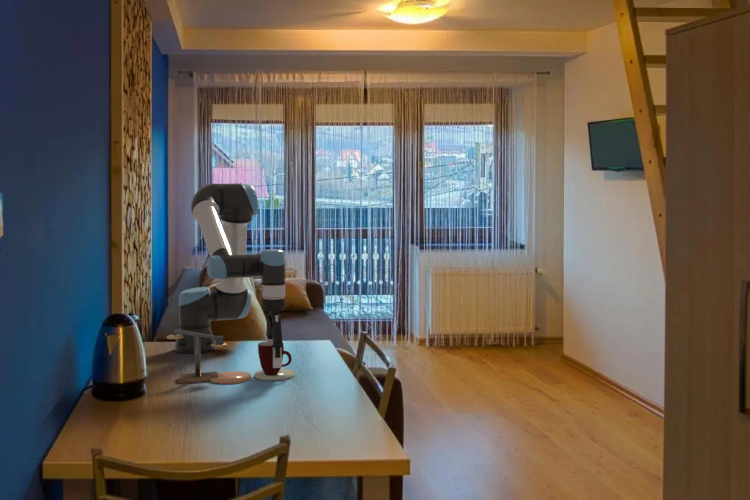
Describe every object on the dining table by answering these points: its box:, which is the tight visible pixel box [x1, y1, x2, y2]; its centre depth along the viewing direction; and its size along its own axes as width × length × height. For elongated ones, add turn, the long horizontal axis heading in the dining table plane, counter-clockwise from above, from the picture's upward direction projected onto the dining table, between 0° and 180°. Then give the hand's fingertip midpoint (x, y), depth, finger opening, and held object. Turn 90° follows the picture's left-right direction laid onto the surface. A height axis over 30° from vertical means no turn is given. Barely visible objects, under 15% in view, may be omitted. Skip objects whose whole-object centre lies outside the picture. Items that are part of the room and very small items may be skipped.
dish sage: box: [253, 368, 296, 382], centre depth 244 cm, size 13×13×1 cm
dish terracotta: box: [209, 370, 252, 385], centre depth 240 cm, size 13×13×1 cm
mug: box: [257, 340, 293, 376], centre depth 242 cm, size 11×8×10 cm
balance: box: [166, 329, 228, 384], centre depth 239 cm, size 6×19×16 cm, turn 105°
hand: (274, 363), depth 243 cm, fingers open, 13 cm apart
